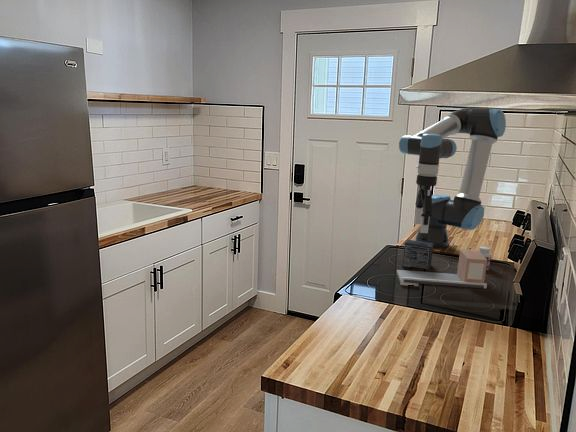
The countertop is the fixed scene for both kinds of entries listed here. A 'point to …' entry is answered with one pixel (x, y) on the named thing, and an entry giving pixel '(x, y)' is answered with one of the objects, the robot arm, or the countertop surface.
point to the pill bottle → (486, 255)
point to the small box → (417, 254)
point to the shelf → (434, 279)
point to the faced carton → (471, 266)
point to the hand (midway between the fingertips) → (420, 228)
